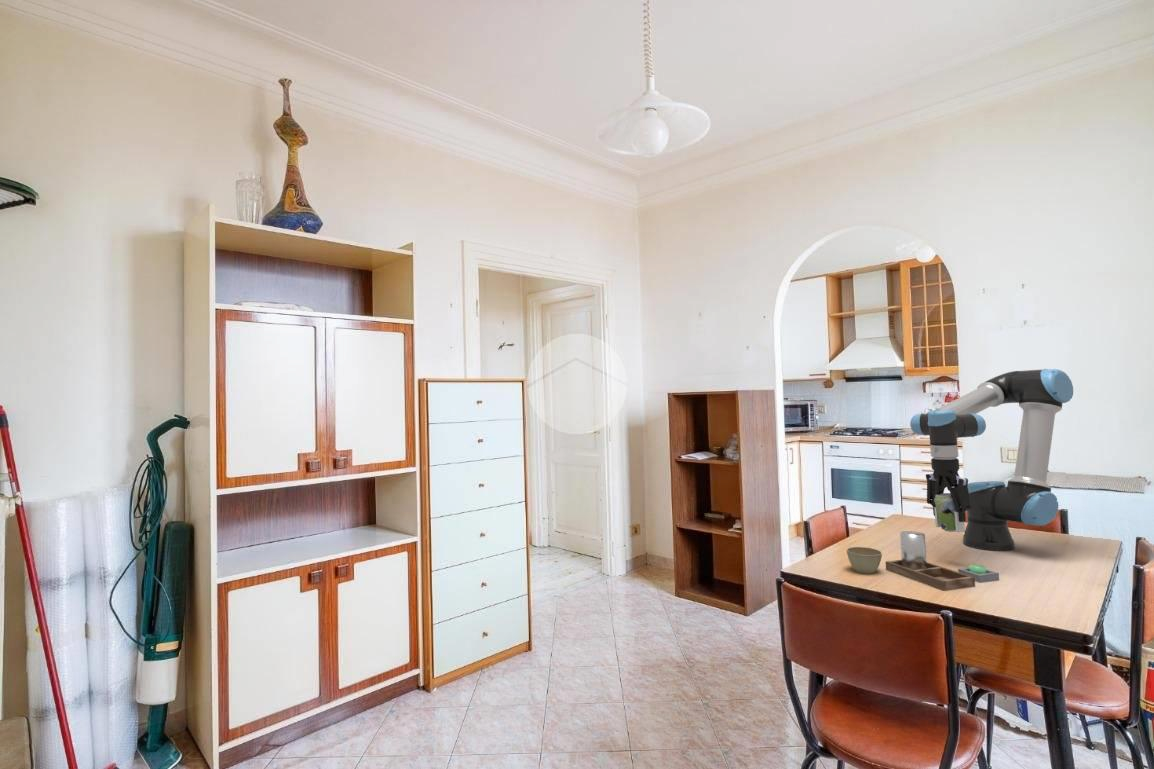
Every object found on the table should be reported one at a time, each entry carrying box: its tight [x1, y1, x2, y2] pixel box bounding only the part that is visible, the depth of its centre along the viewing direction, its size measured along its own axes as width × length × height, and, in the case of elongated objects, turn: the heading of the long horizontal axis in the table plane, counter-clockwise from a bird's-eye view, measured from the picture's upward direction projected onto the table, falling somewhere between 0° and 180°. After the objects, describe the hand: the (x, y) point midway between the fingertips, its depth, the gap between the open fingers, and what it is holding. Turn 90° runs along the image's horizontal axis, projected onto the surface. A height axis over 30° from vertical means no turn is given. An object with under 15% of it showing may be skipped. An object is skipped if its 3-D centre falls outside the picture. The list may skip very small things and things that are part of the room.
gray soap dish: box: [957, 566, 1000, 583], centre depth 166 cm, size 7×7×3 cm
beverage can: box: [934, 492, 957, 533], centre depth 180 cm, size 6×7×12 cm
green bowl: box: [846, 546, 883, 574], centre depth 177 cm, size 10×10×7 cm
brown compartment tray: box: [885, 559, 976, 592], centre depth 168 cm, size 11×21×4 cm, turn 13°
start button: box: [969, 564, 987, 574], centre depth 166 cm, size 4×4×3 cm
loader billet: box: [899, 530, 927, 570], centre depth 173 cm, size 7×7×12 cm
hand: (950, 529), depth 180 cm, fingers closed on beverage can, 7 cm apart
